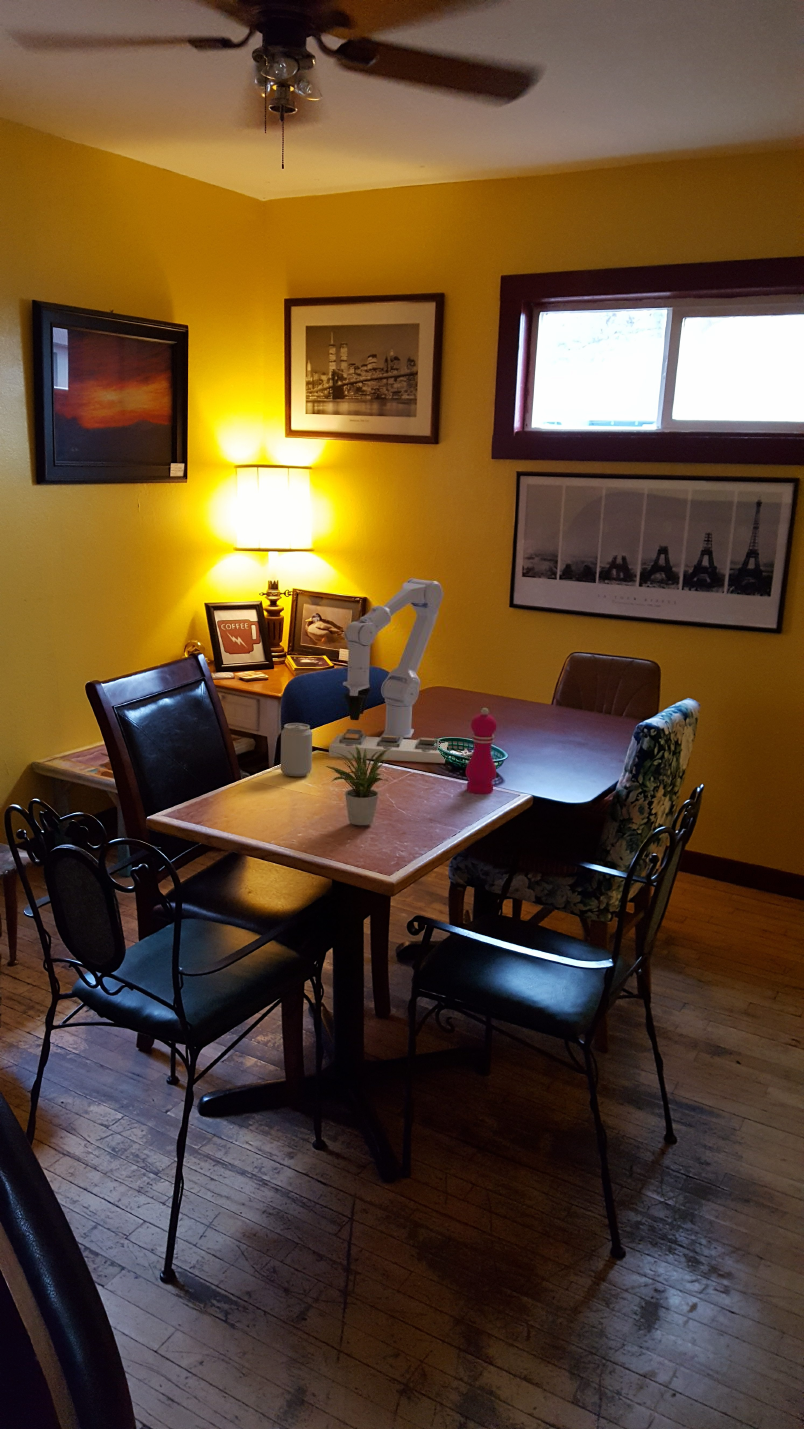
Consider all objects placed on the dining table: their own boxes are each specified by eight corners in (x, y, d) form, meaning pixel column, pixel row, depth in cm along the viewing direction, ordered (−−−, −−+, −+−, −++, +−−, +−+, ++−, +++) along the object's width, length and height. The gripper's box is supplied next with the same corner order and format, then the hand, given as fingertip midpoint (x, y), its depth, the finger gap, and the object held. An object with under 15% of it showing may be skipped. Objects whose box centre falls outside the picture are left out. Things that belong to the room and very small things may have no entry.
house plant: (360, 804, 227) (363, 733, 223) (409, 819, 218) (412, 745, 215) (316, 818, 216) (317, 744, 212) (365, 835, 207) (367, 757, 204)
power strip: (337, 745, 277) (337, 731, 276) (490, 756, 272) (491, 742, 271) (329, 756, 265) (329, 741, 264) (489, 768, 261) (490, 753, 260)
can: (275, 775, 246) (276, 726, 244) (287, 767, 253) (288, 720, 251) (304, 778, 244) (305, 730, 242) (315, 771, 251) (317, 723, 249)
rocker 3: (421, 741, 271) (421, 737, 271) (436, 742, 271) (436, 738, 271) (419, 743, 265) (419, 739, 265) (434, 744, 265) (434, 740, 265)
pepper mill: (496, 795, 238) (501, 712, 233) (465, 794, 238) (470, 710, 233) (494, 786, 245) (499, 705, 240) (463, 785, 245) (468, 703, 240)
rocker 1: (347, 732, 273) (347, 728, 273) (362, 733, 273) (362, 729, 273) (343, 741, 268) (343, 737, 267) (358, 742, 267) (358, 738, 267)
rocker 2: (384, 738, 272) (384, 734, 272) (399, 739, 272) (399, 735, 272) (381, 740, 266) (381, 736, 266) (396, 741, 266) (396, 737, 266)
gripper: (348, 661, 279) (346, 710, 282) (339, 670, 265) (337, 721, 268) (373, 663, 279) (371, 711, 282) (365, 672, 265) (363, 723, 268)
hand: (356, 716), depth 275 cm, fingers open, 7 cm apart
